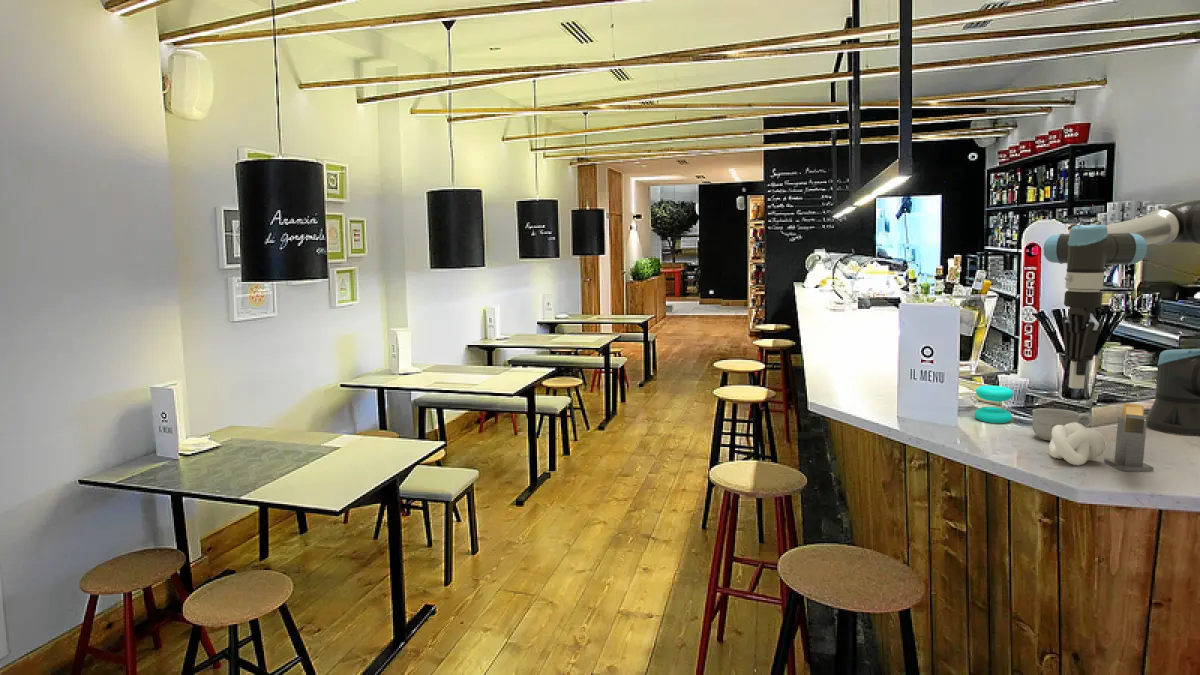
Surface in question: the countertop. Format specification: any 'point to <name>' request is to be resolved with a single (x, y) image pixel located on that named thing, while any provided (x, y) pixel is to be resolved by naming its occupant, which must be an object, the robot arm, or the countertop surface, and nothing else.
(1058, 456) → the white knot
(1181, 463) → the countertop surface
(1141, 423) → the bar
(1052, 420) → the teacup
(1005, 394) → the donuts
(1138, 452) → the post
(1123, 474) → the countertop surface
